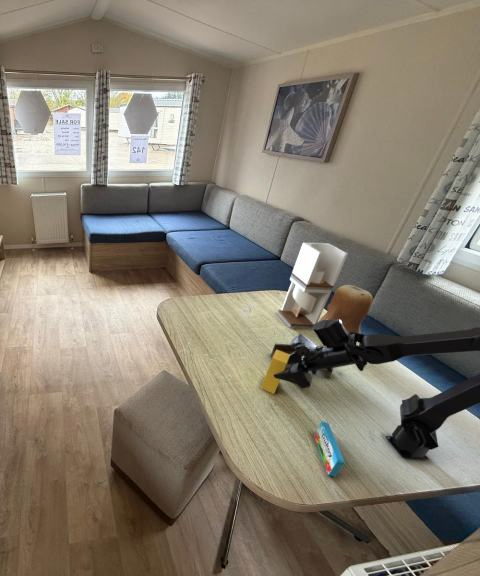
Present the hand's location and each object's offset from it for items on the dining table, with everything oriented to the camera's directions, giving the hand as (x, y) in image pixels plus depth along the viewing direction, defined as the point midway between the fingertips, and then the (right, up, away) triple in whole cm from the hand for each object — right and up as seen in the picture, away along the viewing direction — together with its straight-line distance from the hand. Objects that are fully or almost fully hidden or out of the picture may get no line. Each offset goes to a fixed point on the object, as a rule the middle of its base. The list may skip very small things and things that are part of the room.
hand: (277, 368), depth 99 cm
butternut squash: (+37, +3, +26) cm, 46 cm away
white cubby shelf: (+31, +11, +40) cm, 52 cm away
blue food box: (+2, -19, -17) cm, 26 cm away
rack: (+15, -3, +13) cm, 20 cm away
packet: (0, -7, +4) cm, 8 cm away
